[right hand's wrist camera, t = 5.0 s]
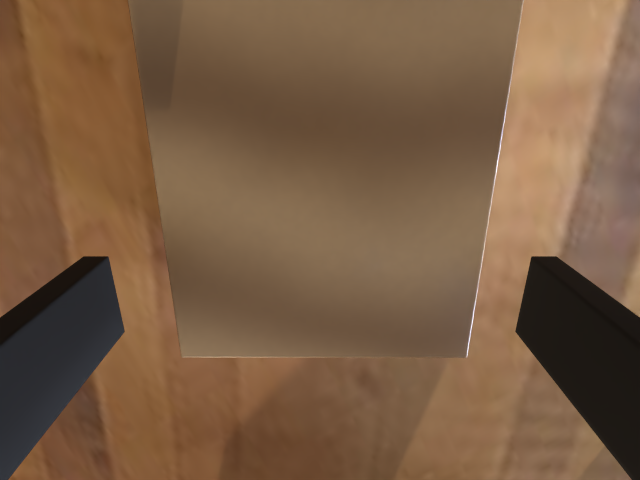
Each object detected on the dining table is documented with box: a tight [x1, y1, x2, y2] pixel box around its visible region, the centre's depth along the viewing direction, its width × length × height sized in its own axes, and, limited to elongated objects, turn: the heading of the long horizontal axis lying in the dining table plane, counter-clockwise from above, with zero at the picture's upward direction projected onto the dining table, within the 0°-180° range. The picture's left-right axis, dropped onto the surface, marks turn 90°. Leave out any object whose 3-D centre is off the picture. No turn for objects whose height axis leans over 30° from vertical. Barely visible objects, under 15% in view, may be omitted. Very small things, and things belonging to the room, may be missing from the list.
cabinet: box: [128, 0, 524, 358], centre depth 17 cm, size 19×11×9 cm, turn 0°
